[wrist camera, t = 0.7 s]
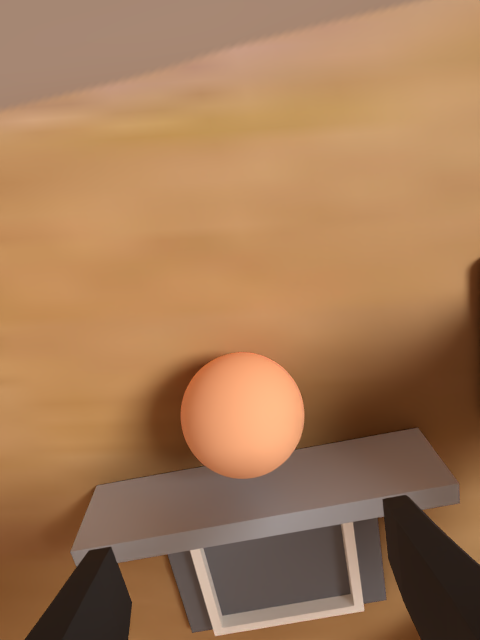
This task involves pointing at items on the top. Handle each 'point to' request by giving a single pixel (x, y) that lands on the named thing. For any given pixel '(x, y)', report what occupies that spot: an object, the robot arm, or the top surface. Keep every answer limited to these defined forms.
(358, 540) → the mat
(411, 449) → the grey wall
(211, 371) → the coral ball
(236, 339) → the top surface
